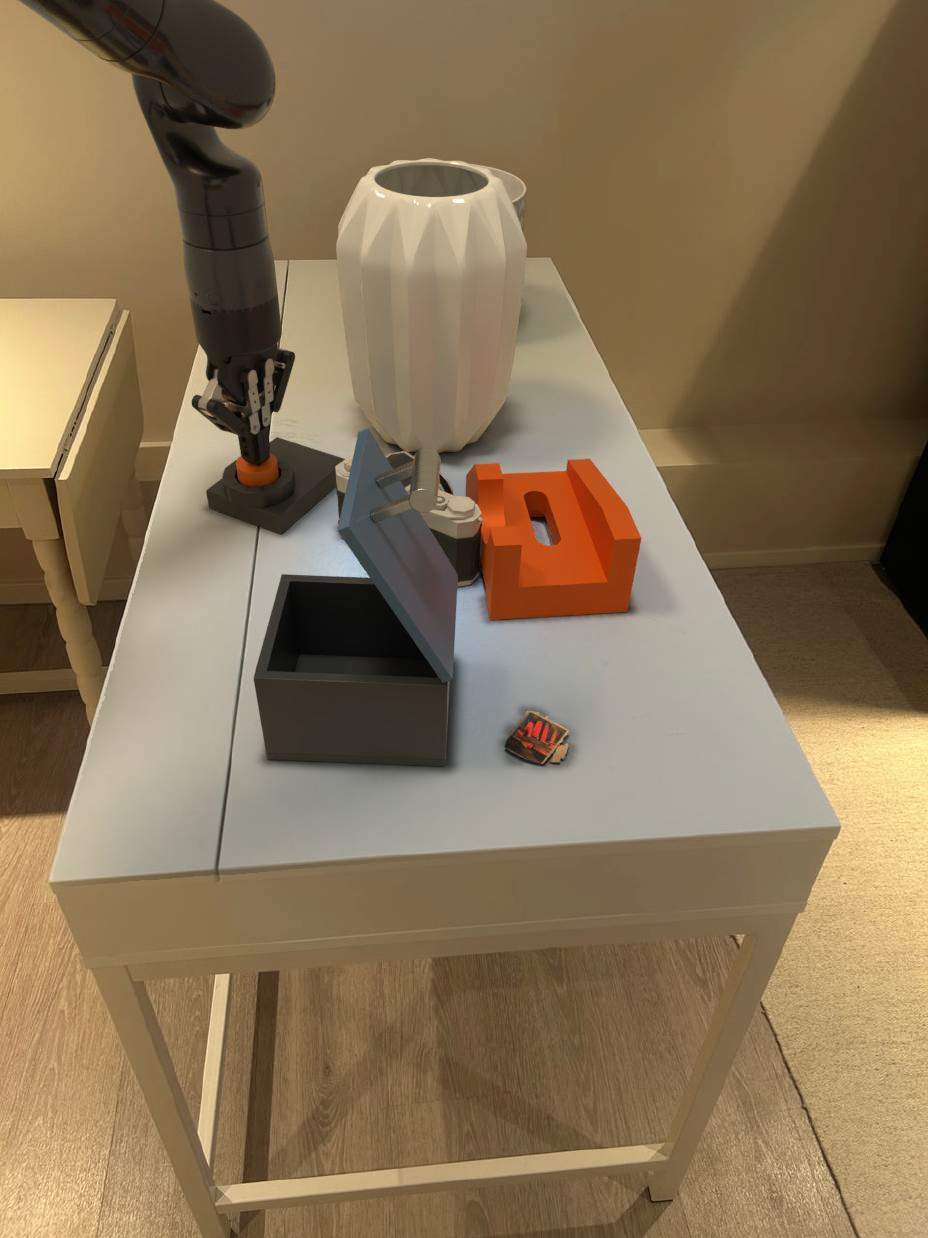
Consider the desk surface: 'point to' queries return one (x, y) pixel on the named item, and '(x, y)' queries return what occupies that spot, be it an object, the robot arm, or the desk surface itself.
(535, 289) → the desk surface
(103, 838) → the desk surface
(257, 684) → the open box
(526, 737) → the matchbox
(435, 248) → the vase
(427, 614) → the lid
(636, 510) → the desk surface
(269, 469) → the button
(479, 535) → the camera
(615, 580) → the orange slotted stand
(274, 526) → the control block
